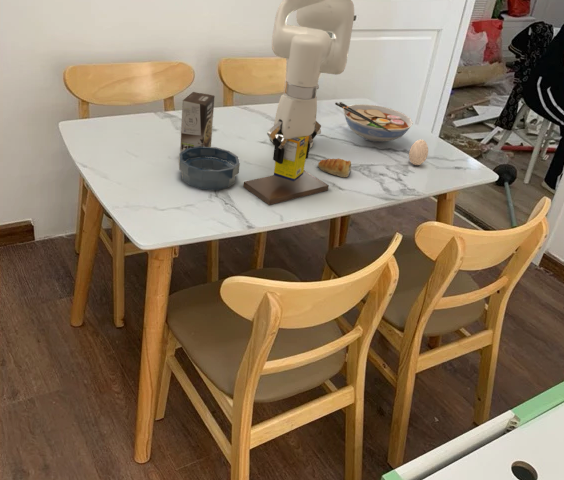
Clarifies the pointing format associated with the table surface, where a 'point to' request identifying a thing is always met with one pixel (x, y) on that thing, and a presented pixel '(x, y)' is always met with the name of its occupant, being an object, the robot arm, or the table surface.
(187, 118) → the coffee box
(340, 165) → the pastry
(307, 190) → the walnut board
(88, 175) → the table surface
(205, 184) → the bowl
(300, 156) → the supplement box
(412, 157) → the egg
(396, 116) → the ramen bowl
